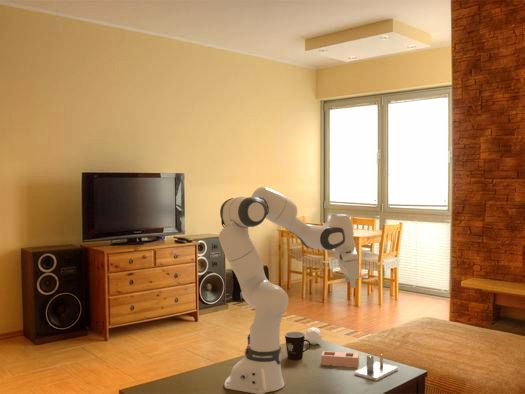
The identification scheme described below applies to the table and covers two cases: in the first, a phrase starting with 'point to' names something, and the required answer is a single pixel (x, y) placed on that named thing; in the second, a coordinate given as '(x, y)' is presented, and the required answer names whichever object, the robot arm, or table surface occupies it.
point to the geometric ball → (313, 335)
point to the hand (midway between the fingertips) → (350, 284)
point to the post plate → (375, 369)
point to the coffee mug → (295, 345)
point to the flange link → (340, 359)
